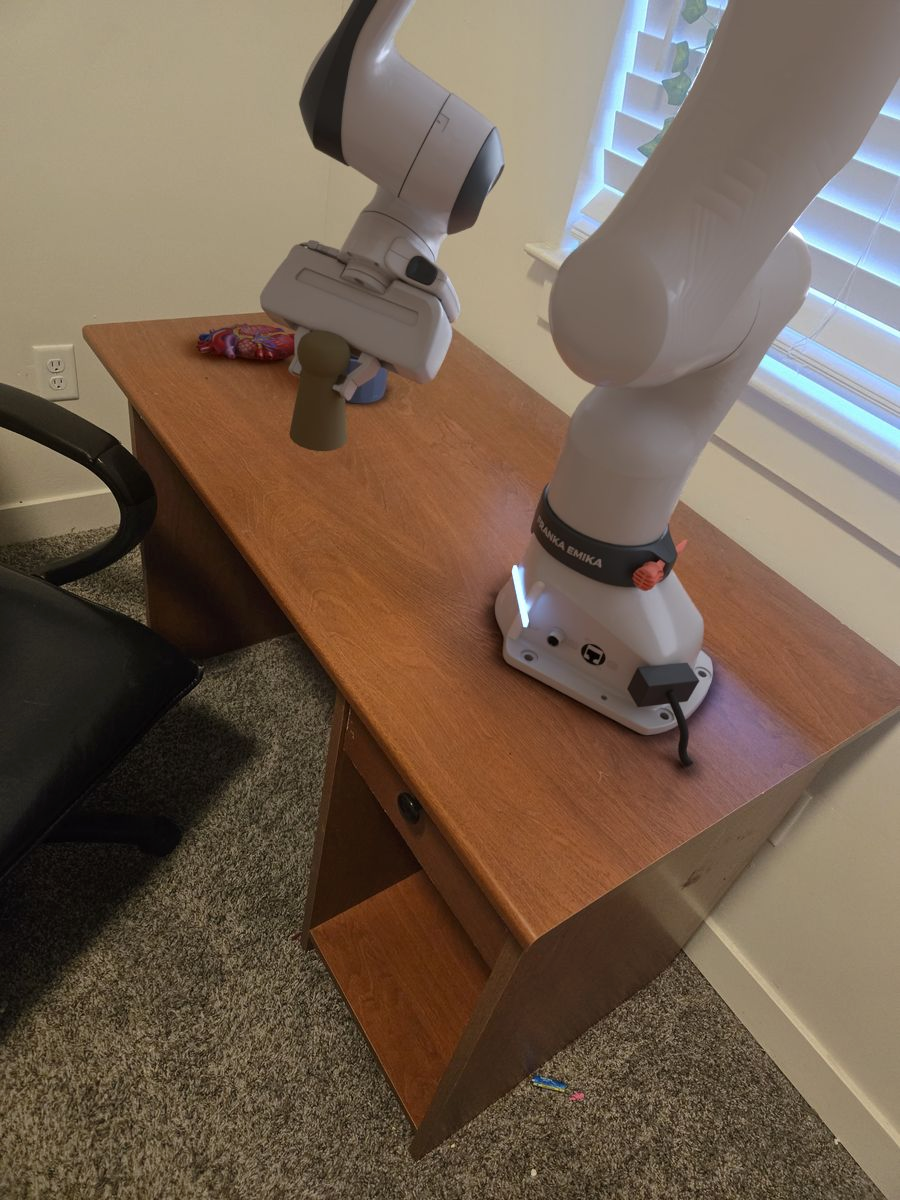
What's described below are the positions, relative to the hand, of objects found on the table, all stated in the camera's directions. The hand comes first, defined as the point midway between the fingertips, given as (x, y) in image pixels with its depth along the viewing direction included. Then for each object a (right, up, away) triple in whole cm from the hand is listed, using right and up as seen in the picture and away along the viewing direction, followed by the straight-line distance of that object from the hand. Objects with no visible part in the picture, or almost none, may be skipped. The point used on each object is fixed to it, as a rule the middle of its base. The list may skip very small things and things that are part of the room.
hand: (318, 386), depth 78 cm
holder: (0, +8, +30) cm, 31 cm away
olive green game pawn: (-1, -4, +4) cm, 6 cm away
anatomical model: (-15, +13, +32) cm, 38 cm away
